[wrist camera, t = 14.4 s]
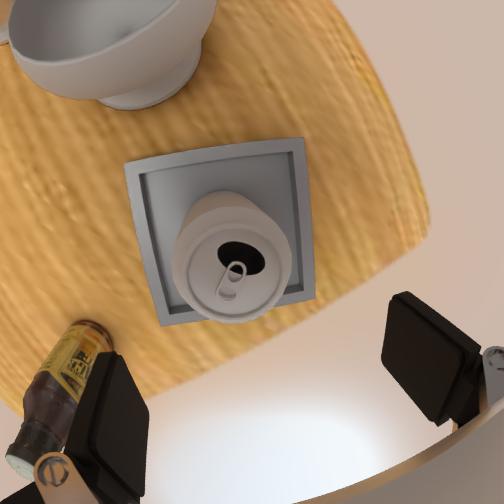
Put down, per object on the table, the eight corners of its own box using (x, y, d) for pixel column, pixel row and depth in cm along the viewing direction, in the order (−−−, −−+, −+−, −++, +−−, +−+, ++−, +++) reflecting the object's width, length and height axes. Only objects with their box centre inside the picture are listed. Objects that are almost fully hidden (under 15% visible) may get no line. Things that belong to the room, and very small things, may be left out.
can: (275, 209, 28) (322, 244, 16) (241, 277, 29) (264, 348, 18) (202, 176, 26) (199, 187, 14) (171, 249, 27) (150, 309, 16)
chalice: (76, 23, 19) (12, -42, 5) (203, -9, 20) (211, -104, 6) (81, 137, 23) (-14, 125, 9) (220, 104, 25) (241, 43, 11)
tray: (130, 163, 25) (123, 163, 23) (295, 139, 27) (303, 137, 24) (163, 314, 30) (160, 326, 28) (307, 288, 32) (315, 298, 30)
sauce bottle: (122, 358, 31) (86, 503, 12) (80, 362, 30) (31, 490, 11) (102, 311, 29) (33, 457, 10) (59, 318, 28) (-19, 443, 9)
